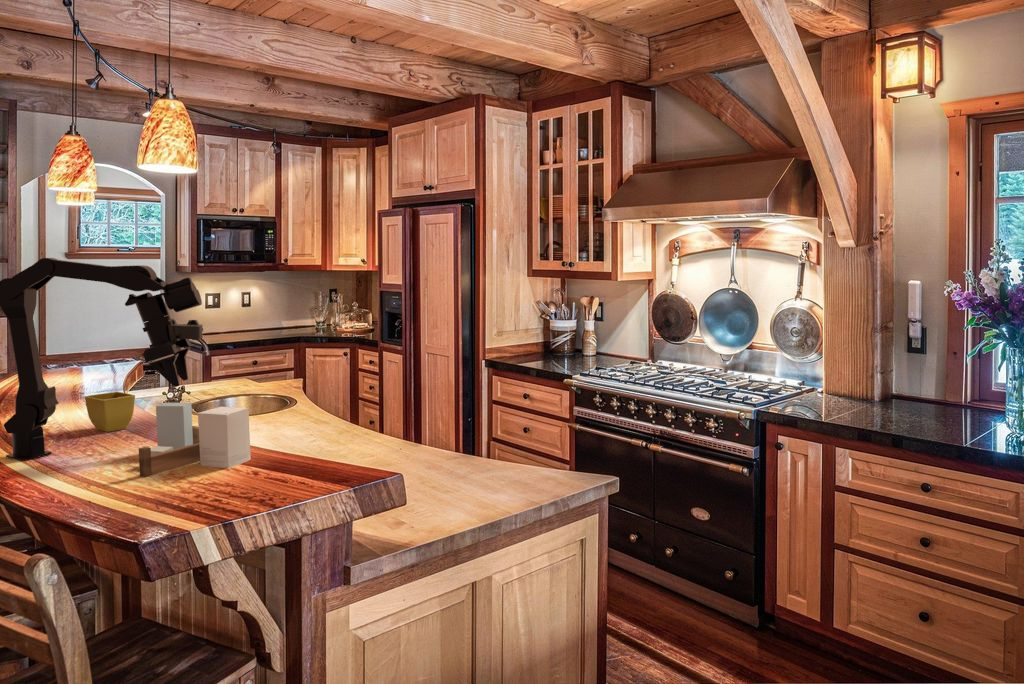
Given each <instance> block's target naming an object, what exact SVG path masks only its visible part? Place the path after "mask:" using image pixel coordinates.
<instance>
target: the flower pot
mask: <svg viewBox="0 0 1024 684" xmlns="http://www.w3.org/2000/svg"><path fill="white" fill-rule="evenodd" d="M84 401H85V405H86V406H85V407H86V411H87V416H88V419H89V420H90V422H91V424H92V425H93V426H94V428H95V429H96V430H99V431H102V432H106V433H110V432H113V431H115V432H116V431H118V430H119V431H120V430H124V429H126V428H127V427H128V426H129V425H130V423H131V421H132V418H133V415H134V412H135V411H134V410H135V401H136V395H135V394H131V393H127V392H121V391H113V392H112V391H111V392H106V393H105V392H104V393H98V394H91V395H90V394H89V395H85V396H84Z"/></svg>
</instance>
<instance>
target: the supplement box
mask: <svg viewBox="0 0 1024 684" xmlns="http://www.w3.org/2000/svg"><path fill="white" fill-rule="evenodd" d="M249 414H250V413H249V408H247V407H246V408H245V407H231V406H218V407H214V408H211V409H207V410H203V411H201V412H197V421H198V427H199V446H200V461H199V462H200V466H202V467H203V466H204V467H211V468H220V469H230V468H233V467H236V466H239V465H241V464H244V463H247V462H249V461H250V460H251V459H252V458H251V457H252V456H251V439H250V438H251V435H250V432H251V431H250V416H249Z"/></svg>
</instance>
